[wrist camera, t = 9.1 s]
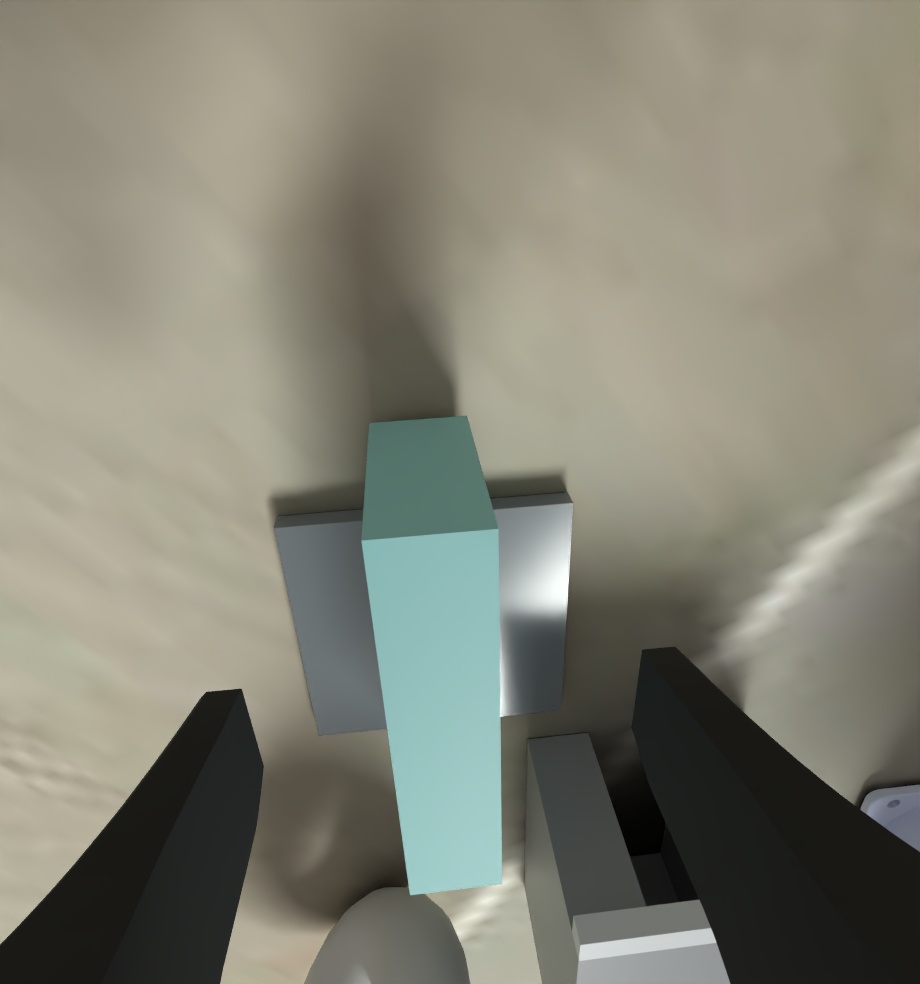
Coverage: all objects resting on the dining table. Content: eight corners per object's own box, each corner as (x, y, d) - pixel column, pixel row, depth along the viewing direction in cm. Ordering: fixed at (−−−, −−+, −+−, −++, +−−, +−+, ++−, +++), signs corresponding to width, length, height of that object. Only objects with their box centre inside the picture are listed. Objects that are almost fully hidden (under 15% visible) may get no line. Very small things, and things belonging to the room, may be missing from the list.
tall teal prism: (467, 415, 16) (498, 528, 11) (478, 723, 21) (502, 883, 17) (368, 422, 16) (360, 540, 11) (404, 731, 21) (409, 895, 16)
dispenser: (748, 700, 23) (880, 906, 17) (706, 863, 28) (795, 1067, 22) (527, 723, 22) (580, 945, 16) (524, 885, 27) (563, 1102, 21)
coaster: (567, 492, 18) (572, 503, 17) (557, 696, 22) (561, 710, 21) (277, 516, 17) (273, 528, 17) (320, 721, 21) (318, 735, 21)
